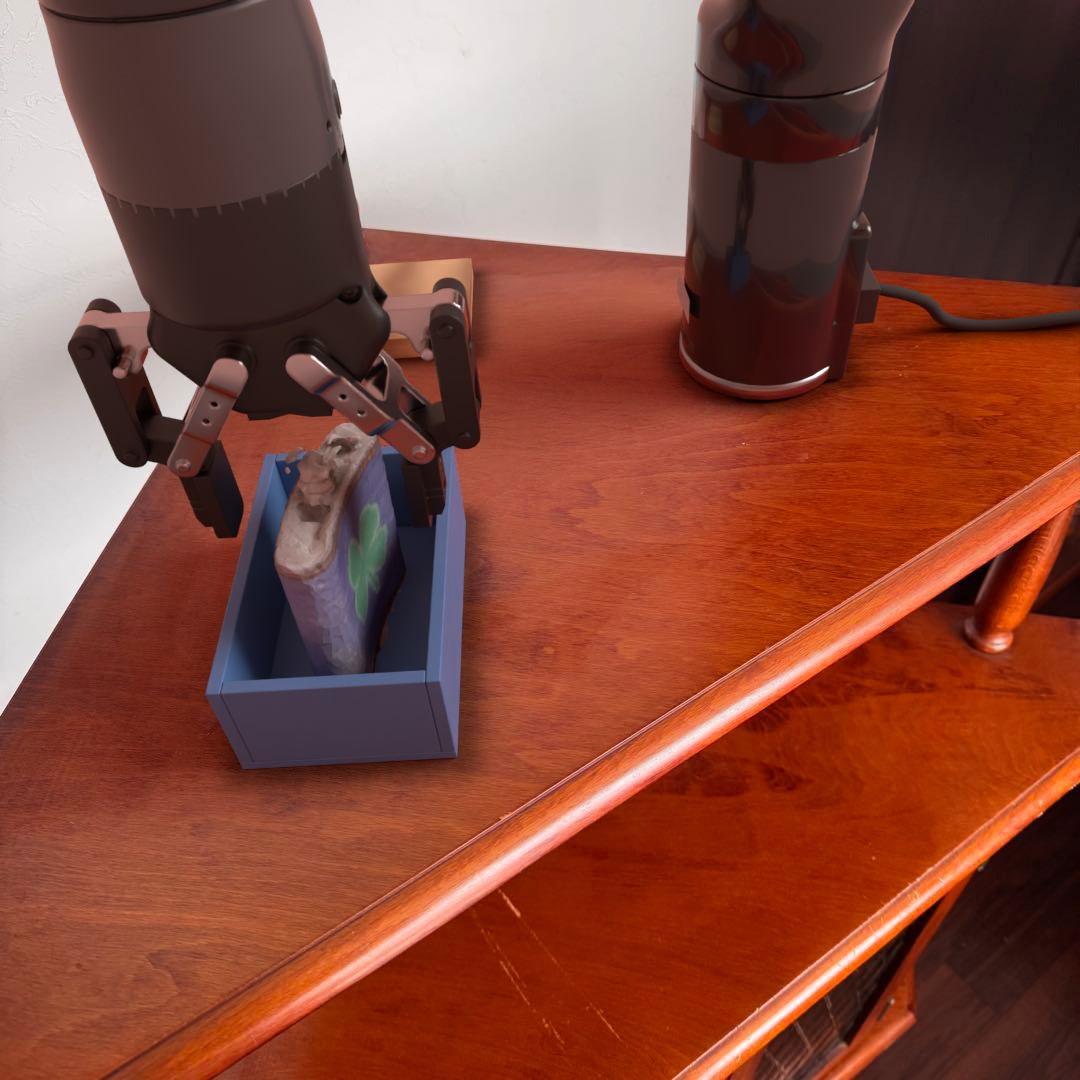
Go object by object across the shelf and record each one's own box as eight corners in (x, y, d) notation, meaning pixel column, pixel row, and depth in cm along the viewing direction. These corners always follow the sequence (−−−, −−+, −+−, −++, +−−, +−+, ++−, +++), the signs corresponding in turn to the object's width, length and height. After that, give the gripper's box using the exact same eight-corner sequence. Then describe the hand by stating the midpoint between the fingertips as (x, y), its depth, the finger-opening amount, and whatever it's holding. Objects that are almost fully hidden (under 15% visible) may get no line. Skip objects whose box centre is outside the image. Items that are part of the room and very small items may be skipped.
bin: (466, 522, 53) (453, 441, 49) (457, 757, 43) (440, 680, 39) (291, 532, 53) (264, 453, 49) (242, 769, 43) (204, 694, 39)
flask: (366, 711, 44) (310, 540, 36) (302, 705, 45) (234, 535, 37) (415, 557, 50) (377, 384, 43) (359, 553, 51) (311, 382, 43)
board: (473, 276, 69) (471, 257, 68) (470, 354, 63) (467, 334, 62) (343, 285, 70) (339, 266, 68) (327, 363, 63) (322, 343, 62)
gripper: (-61, 214, 28) (138, 596, 40) (445, 181, 28) (497, 576, 40) (27, 103, 34) (181, 469, 45) (455, 74, 33) (498, 451, 45)
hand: (328, 519), depth 42 cm, fingers open, 7 cm apart
